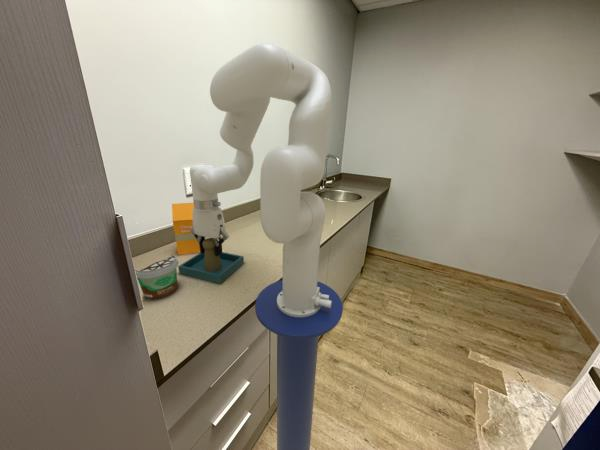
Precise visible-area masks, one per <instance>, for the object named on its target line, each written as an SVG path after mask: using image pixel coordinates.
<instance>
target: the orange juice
mask: <svg viewBox="0 0 600 450" xmlns="http://www.w3.org/2000/svg"><path fill="white" fill-rule="evenodd" d="M193 208H194V202H182V203H171V214H172V215H171V217H172V225H173V230H174V238H175V243H176V251H177V255H178V256H180V255H188V254H190V255H191V254H199V253H200V246H199V243H198V242H197V239H196V238H195V236H194V235H193V234H192V233H191V232H190V230H191V229H192V228H193Z"/></svg>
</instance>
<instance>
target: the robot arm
mask: <svg viewBox="0 0 600 450" xmlns="http://www.w3.org/2000/svg"><path fill="white" fill-rule="evenodd" d="M331 86H332V85H331V83H330V81H329V77H327V75H326V74H325V72H324V71H323V70H322V69H321V68H319V67H318V66H317V65H315V64H314V63H312V62H311V61H309V60H307V59H306V58H303V57H301V56H299V55H297V54H295V53H292V52H290V51H288V50H287V49H284V48H282V47H281V46H279V45H276V44H274V43H270V42H260V43H256V44H254V45H252V46H250V47H248V48H247V49H245V50H244V51H243V52H241V53H239V54H238V55H236V56H235V57H233V58H232V59H230V60H229V61H227V62H226V63H225V64H223V65H222V66H220V68H218V69H217V70H216V72H215V73H214V75H213V77H212V79H211V82H210V88H209V94H210V99H211V102H212V104H213V106H215V108H217V110H219V111H220V112H225V115H224V118H223V121H222V123H221V126H220V129H219V135H220V138H221V139H222V140H223V142H224V143H226V144H227V145H228V146H229V147H231V148H233V149H234V150H236V153H235V157H234V159H233V162H232V164H231V165H230V164H229V165H222V166H213V165H211V164H194V165H191V167H190V168H189V177H190V184H191V185H190V186H191V193H192V201H193V202H192V203H194V208H193V228H192V229H191V230H190V232H191V233H192V234H193V235H194V236H195V238H196V239H197V242H198V243H199V246H200V252H199V253H204V252H205V249H204V248H203V245H202V244H203V241H204V240H205V239H206V238H213V240H214V242H215V246H214V249H215V256H219V255H220V254H222V252H223V244H224V242H226V240H228V239H229V238H230V235H229V234H228V232H227V230H226V223H225V216H224V213H223V209H222V207H220V206H221V205H222V203H221V201H219V194H220V193H225V192H229V191H230V192H231V191H234V190H238V189H241V188H242V187H244V186H245V184H246V183H247V181H248V180H249V178H250V176H251V173H252V171H253V168H254V163H255V162H254V152H253V148H252V144H253V142H254V139H255V137H256V134H257V132H258V130H259V128H260V126H261V124H262V121H263V118H264V116H265V114H266V113H267V110H268V107H269V105H270V102H271V98H273V99H276V100H281V101H287V102H291V103H293V104H294V105H295V106H294V108H293V110H292V112H291V115H290V118H289V122H288V123H289V124H288V141H287V144H284V145H279V146H276V147H274V148H272V149H271V150H269V151H268V153H267V154H266V155H265V156H264V159H263V160H262V164H261V167H260V175H259V177H260V179H259V180H260V181H259V182H260V183H259V186H260V187H259V189H260V190H259V194H260V195H259V196H260V198H259V200H260V201H259V203H260V204H259V205H260V207H259V209H260V211H259V212H260V224H261V228H262V231H263V233H264V234H265V236H266V237H267V238H268V239H269V240H270V241H272V242H273V243H276V244H282V280H283V286H282V291H281V292H280V293H279V295H278V297H277V306H278V308H279V309H280V310H281V311H282V312H283V313H284V314H286V315H289V316H292V317H300V318H301V317H308V316H311V315H313V314H315V313H316V312H318V311H319V309H320V308H321V306H324V307H327V308H331V304H332V301H330V300H329V295H324V294H321V293H319V290H320V287H317V281H318V277H319V266H320V265H319V264H320V253H321V251H320V250H321V240H322V234H323V230H324V225H325V221H326V206H325V203H324V201H323V199H322V198H321V196H319V195H318V194H316V193H315V192H312V191H304V190H307V189H309V188H312V187H314V186H316V185H318V184H320V182H322V179H323V178H324V175H325V170H326V169H325V168H326V160H327V159H326V158H327V150H328V149H327V148H328V138H329V123H330V116H331V108H332V101H333V100H332V98H333V97H332V96H333V94H332V87H331Z"/></svg>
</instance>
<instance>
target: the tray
mask: <svg viewBox="0 0 600 450" xmlns="http://www.w3.org/2000/svg"><path fill="white" fill-rule="evenodd" d="M204 257H205V252H204V253H200V252H199V253H196V255H194V256H192V257H191V258H189V259H188V260H186V261H185V262H183V263H181V264H179V265H178V266H177V267H178V274H179V275H183V276H187V277H190V278H195V279H199V280H203V281H207V282H211V283H214V284H219V285H221V284H222V283H223V282H225V280H227V279H228V278H229V277H230V276H231V275H232V274H233V273H235V272H236V271H237V270H238V269H239V268H240V267H242V266H243V265H244V264H245V259H244V256H243V255H239V254H234V253H228V252H224V251H222V254H220V255H219V257H220V261H221V265H222V267H221V269H219V270H217V271H213V272H209V271H206V270H204Z"/></svg>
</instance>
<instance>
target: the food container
mask: <svg viewBox="0 0 600 450" xmlns="http://www.w3.org/2000/svg"><path fill="white" fill-rule="evenodd" d="M178 266H179V261H178V258H177V257H176V255H175V254H174V253H171V256H169V257H168V258H166V259H163V260H159V261H155V262H154V263H151V264H150V265H149V266H146V267H144V268H143V269H140V270H138V269H135V270H134V272H135V271H136V275H137V278H136V279H137V281H138V284H139V287H140V289H141V291H142V294H143V297H144V299H147V300H159V299H164V298H166V297H169V296H171V295H172V294H174V293H175V292H176V291H177V289H178V274H177V267H178Z"/></svg>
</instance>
